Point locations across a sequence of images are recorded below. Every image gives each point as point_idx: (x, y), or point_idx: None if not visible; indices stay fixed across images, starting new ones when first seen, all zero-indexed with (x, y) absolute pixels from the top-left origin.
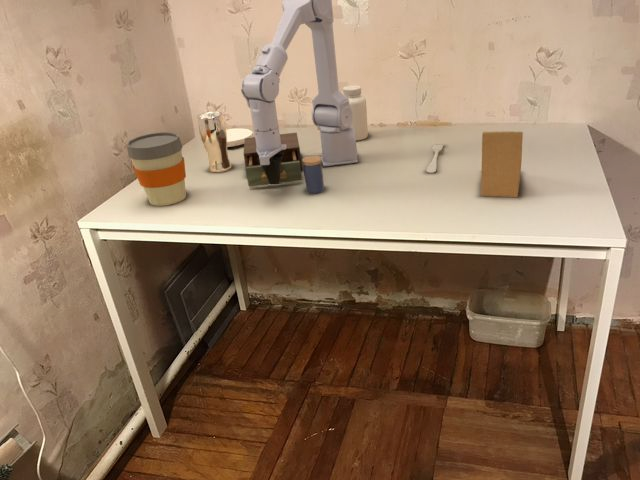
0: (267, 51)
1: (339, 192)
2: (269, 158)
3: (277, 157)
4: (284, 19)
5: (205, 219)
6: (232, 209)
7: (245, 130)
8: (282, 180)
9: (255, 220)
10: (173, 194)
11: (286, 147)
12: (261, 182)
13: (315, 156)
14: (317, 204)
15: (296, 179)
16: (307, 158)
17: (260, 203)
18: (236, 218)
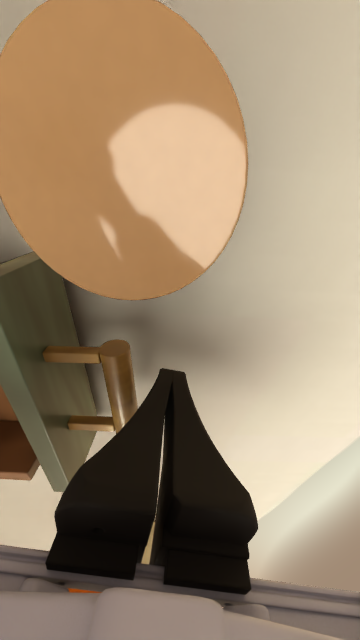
0: None
1: (249, 6)
2: (256, 580)
3: (205, 526)
4: None
5: (266, 486)
6: (234, 448)
7: None
8: (72, 337)
9: (347, 408)
10: (149, 544)
11: (152, 601)
12: (89, 401)
13: (13, 108)
14: (352, 192)
15: (59, 279)
16: (87, 238)
17: (223, 393)
18: (300, 442)
